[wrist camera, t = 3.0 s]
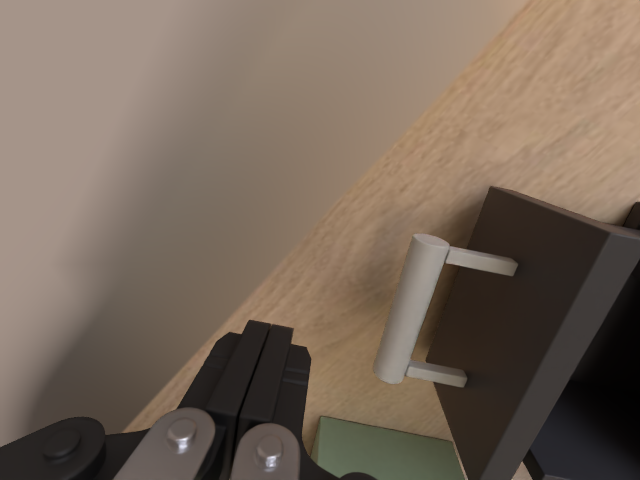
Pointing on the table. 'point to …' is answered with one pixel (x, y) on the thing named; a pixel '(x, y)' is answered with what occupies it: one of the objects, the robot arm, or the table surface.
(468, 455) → the drawer
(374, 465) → the stand
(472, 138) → the table surface
